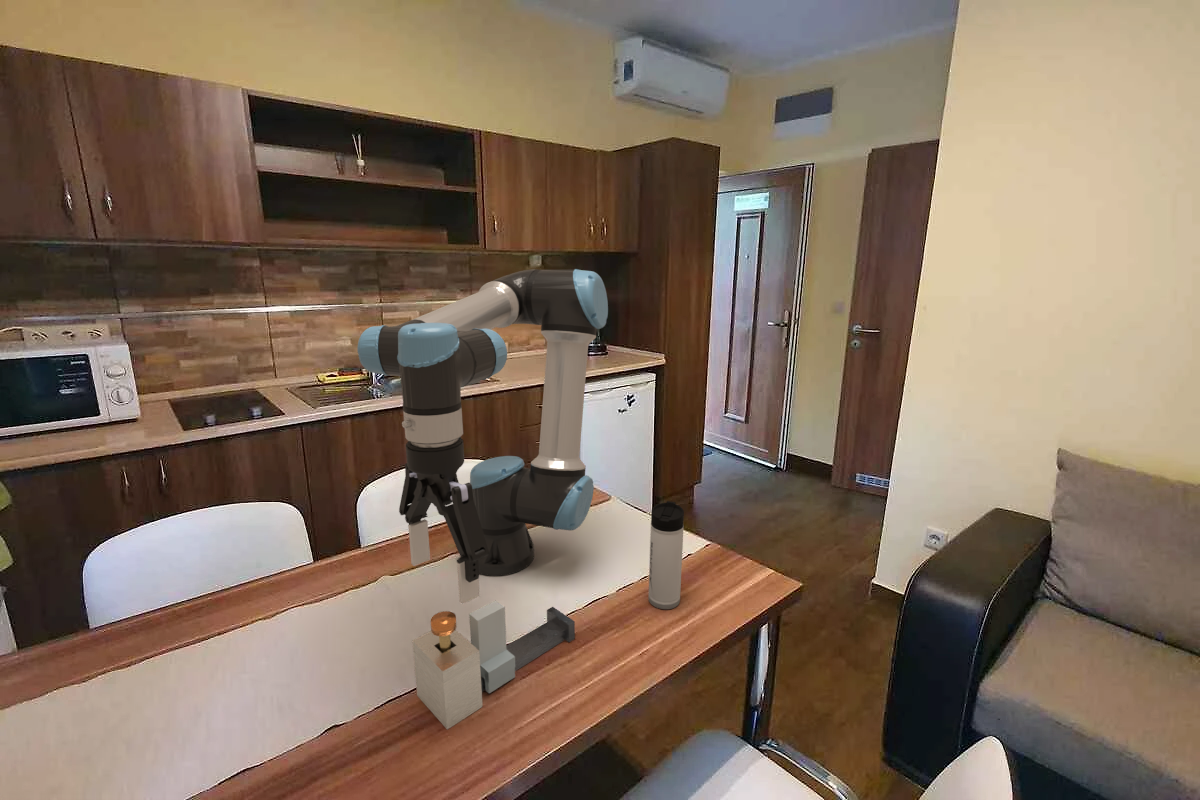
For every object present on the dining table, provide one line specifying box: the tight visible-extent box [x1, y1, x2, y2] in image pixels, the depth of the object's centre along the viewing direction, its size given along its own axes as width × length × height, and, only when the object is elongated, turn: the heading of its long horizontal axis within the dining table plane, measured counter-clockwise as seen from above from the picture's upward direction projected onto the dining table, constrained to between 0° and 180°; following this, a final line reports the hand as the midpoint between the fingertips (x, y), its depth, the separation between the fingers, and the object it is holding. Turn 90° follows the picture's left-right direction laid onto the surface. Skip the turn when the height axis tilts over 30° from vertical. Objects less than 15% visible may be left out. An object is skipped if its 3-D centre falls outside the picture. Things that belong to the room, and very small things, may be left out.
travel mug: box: [647, 500, 685, 610], centre depth 108 cm, size 6×7×20 cm
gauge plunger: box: [430, 610, 458, 653], centre depth 83 cm, size 4×4×9 cm
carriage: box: [468, 599, 516, 694], centre depth 89 cm, size 7×5×12 cm
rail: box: [411, 606, 576, 731], centre depth 91 cm, size 9×26×10 cm, turn 135°
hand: (443, 579), depth 80 cm, fingers open, 13 cm apart
